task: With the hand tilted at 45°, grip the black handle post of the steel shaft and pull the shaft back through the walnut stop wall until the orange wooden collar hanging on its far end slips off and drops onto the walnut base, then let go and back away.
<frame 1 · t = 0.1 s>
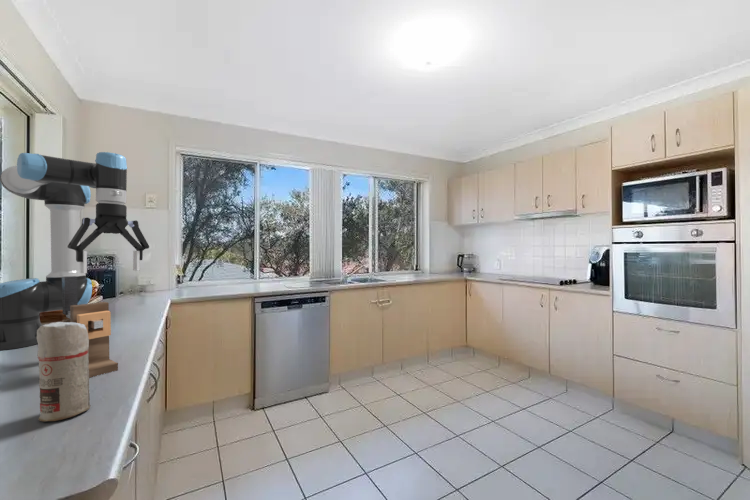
hand: (111, 271, 104), 28 cm above the countertop, tool pointing down, fingers open, 13 cm apart
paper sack: (65, 414, 72), on the countertop
collar: (94, 337, 96), point 10 cm above the countertop, touching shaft
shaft: (82, 300, 101), point 20 cm above the countertop, slide at 0.0 cm, touching collar
rail base: (83, 363, 102), on the countertop
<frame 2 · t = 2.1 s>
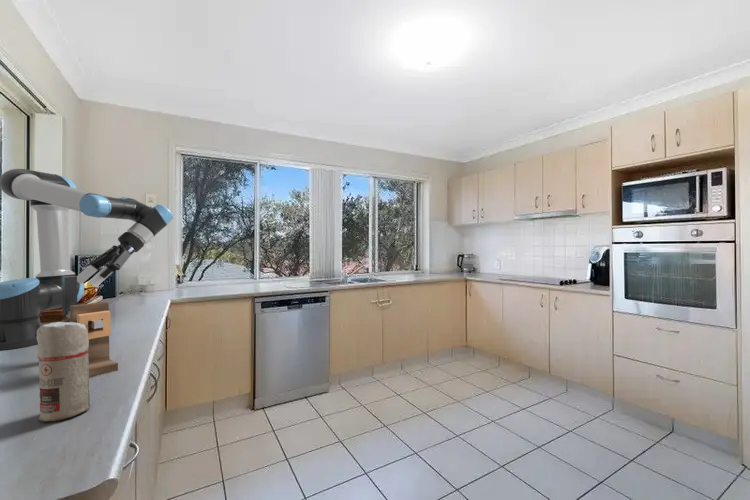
hand: (84, 283, 110), 24 cm above the countertop, tool tilted 45°, fingers open, 13 cm apart
nothing on the countertop moved.
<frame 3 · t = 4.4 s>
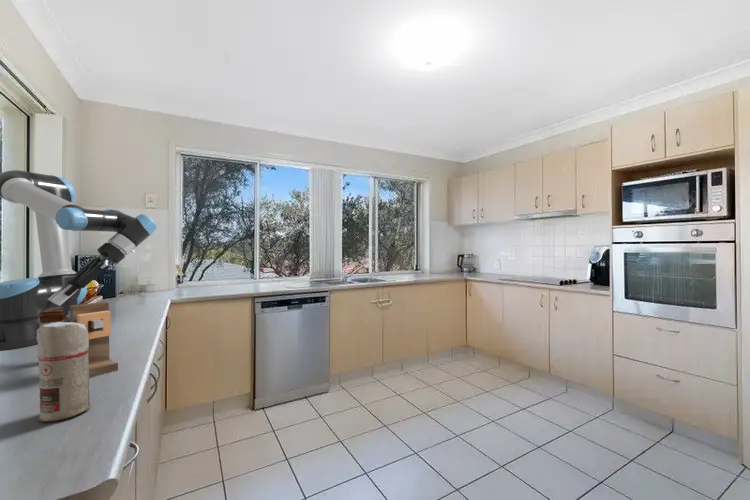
hand: (53, 302, 105), 18 cm above the countertop, tool tilted 45°, fingers closed on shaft, 3 cm apart
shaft: (82, 300, 101), point 20 cm above the countertop, slide at 0.0 cm, touching collar, gripper
everything else where it was.
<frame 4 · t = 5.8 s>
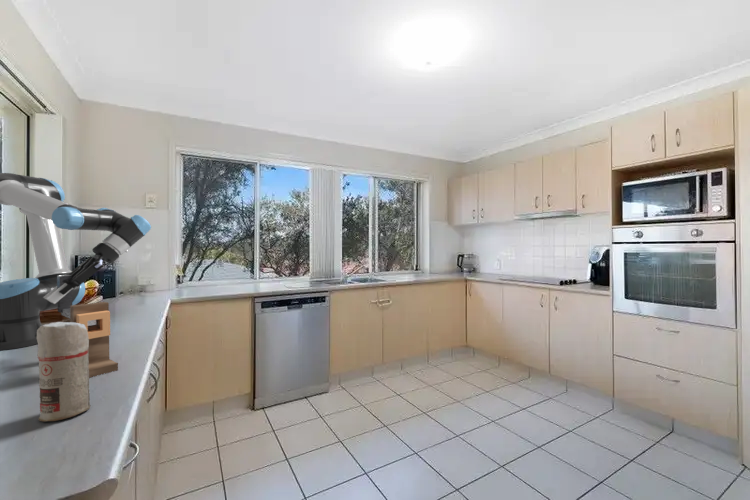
hand: (49, 300, 108), 18 cm above the countertop, tool tilted 45°, fingers closed on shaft, 3 cm apart
collar: (93, 337, 96), point 10 cm above the countertop
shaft: (76, 298, 104), point 20 cm above the countertop, slide at 5.5 cm, touching gripper
everything else where it was.
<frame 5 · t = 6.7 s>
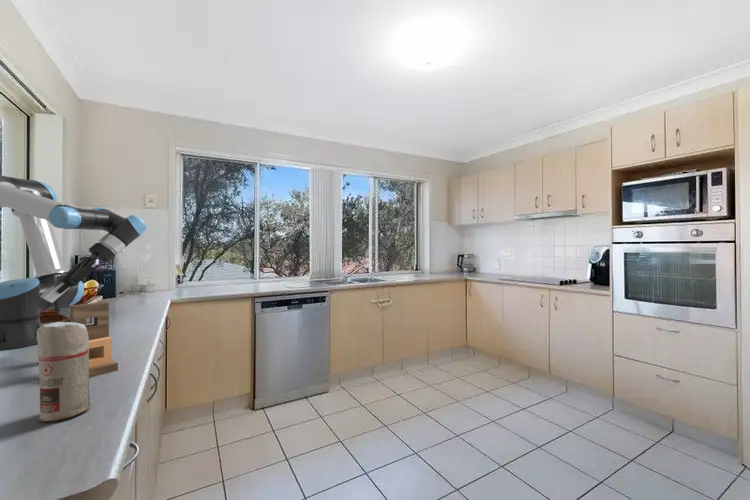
hand: (46, 299, 110), 18 cm above the countertop, tool tilted 45°, fingers closed on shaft, 3 cm apart
collar: (95, 364, 96), point 2 cm above the countertop, touching rail base
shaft: (73, 297, 106), point 20 cm above the countertop, slide at 8.9 cm, touching gripper
everything else where it was.
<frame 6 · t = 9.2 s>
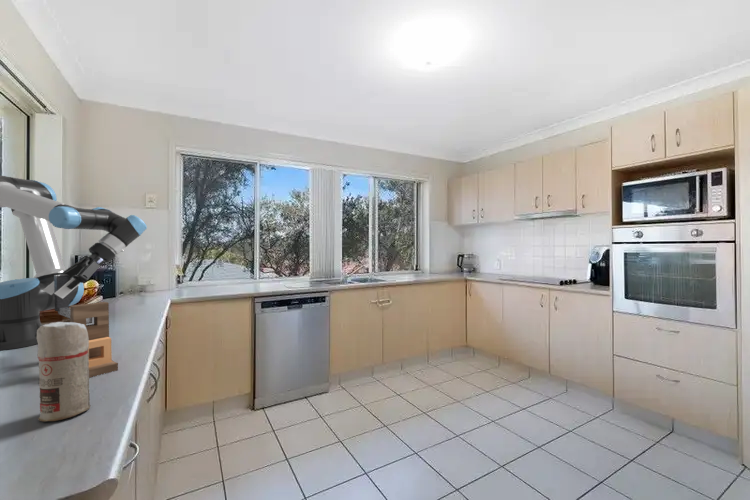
hand: (52, 294, 111), 20 cm above the countertop, tool tilted 45°, fingers open, 13 cm apart
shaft: (72, 297, 106), point 20 cm above the countertop, slide at 9.0 cm
everything else where it was.
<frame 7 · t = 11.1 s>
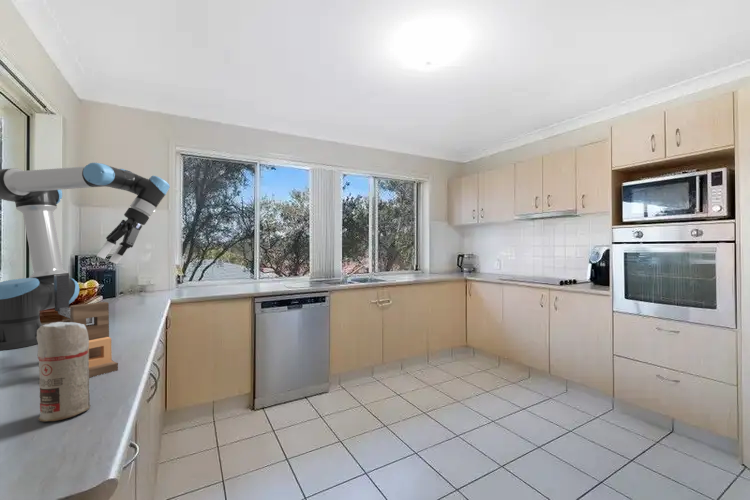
hand: (106, 259, 124), 31 cm above the countertop, tool tilted 30°, fingers open, 13 cm apart
nothing on the countertop moved.
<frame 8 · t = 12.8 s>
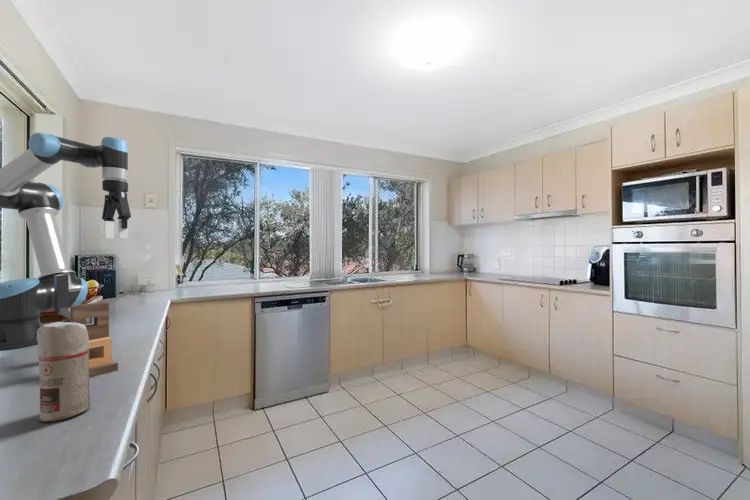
hand: (116, 238, 124), 39 cm above the countertop, tool pointing down, fingers open, 13 cm apart
nothing on the countertop moved.
at the end: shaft slide at 9.0 cm; collar point 2.0 cm above the countertop; collar touching rail base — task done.
